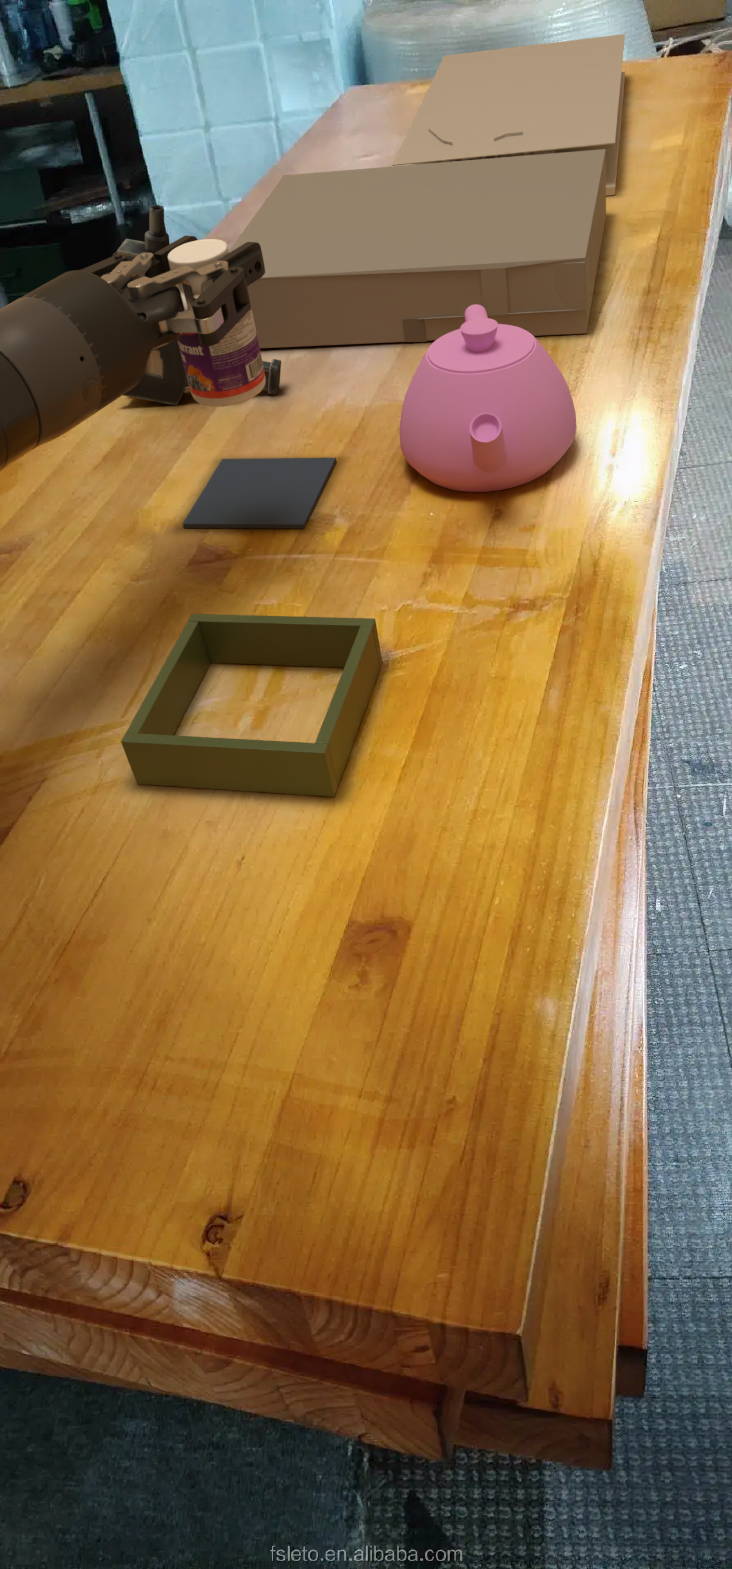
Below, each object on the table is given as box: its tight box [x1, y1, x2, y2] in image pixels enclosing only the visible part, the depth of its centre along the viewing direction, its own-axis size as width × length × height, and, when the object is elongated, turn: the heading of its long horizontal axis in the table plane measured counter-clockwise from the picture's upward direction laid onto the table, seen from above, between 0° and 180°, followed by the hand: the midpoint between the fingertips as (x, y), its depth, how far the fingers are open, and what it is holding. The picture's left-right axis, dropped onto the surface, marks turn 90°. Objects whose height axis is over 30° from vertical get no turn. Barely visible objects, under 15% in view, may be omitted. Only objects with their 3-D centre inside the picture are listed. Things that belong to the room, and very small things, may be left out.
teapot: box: [398, 304, 577, 493], centre depth 91 cm, size 14×20×11 cm
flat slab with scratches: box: [391, 33, 626, 197], centre depth 149 cm, size 45×24×6 cm, turn 170°
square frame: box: [120, 613, 383, 798], centre depth 74 cm, size 13×13×4 cm
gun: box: [112, 204, 282, 406], centre depth 105 cm, size 3×17×15 cm
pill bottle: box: [168, 238, 266, 408], centre depth 81 cm, size 5×5×10 cm
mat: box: [182, 457, 337, 529], centre depth 96 cm, size 10×10×1 cm
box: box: [228, 149, 607, 349], centre depth 120 cm, size 35×29×7 cm
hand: (226, 253), depth 80 cm, fingers closed on pill bottle, 5 cm apart
